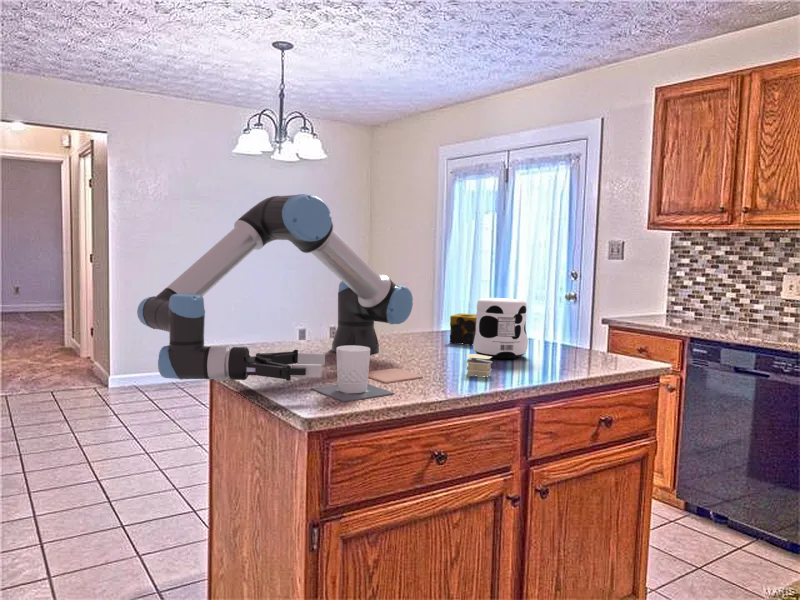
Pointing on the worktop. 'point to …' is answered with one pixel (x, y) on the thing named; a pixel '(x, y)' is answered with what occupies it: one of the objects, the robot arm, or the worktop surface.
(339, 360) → the white cup
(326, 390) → the tile
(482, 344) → the milk container
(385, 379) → the coaster
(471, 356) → the stacked layers on plate
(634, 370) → the worktop surface
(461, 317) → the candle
